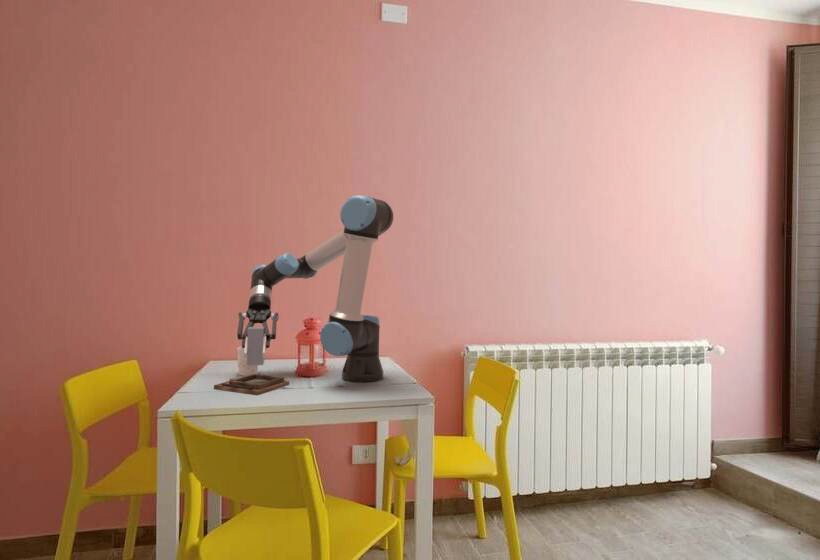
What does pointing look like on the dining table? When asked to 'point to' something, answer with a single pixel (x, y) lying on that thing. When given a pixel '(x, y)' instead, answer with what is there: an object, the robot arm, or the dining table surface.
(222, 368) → the dining table surface
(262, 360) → the block
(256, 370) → the white cup
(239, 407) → the dining table surface
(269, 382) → the brown wooden frame
